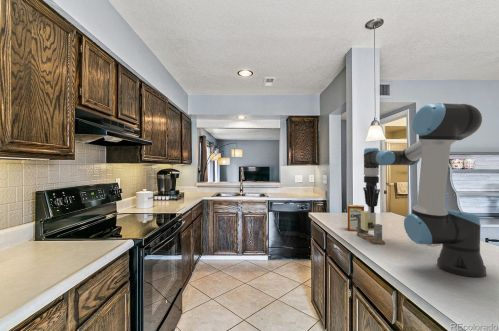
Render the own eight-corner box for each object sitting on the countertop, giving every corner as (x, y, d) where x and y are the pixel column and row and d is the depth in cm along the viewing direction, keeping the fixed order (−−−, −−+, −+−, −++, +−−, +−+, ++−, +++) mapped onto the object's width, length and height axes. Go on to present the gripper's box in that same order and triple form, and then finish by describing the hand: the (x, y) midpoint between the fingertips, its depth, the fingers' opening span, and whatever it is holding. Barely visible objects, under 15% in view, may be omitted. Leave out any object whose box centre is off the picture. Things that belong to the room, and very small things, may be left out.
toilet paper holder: (384, 244, 136) (384, 222, 136) (373, 244, 135) (373, 222, 135) (366, 234, 154) (366, 215, 154) (356, 235, 153) (356, 215, 153)
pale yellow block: (375, 230, 144) (375, 212, 144) (365, 230, 144) (365, 212, 144) (370, 228, 149) (370, 211, 149) (360, 228, 149) (360, 211, 149)
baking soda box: (347, 230, 163) (347, 205, 163) (347, 228, 170) (347, 204, 169) (364, 232, 160) (364, 206, 160) (363, 229, 166) (363, 204, 166)
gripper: (384, 176, 137) (384, 220, 137) (371, 175, 150) (371, 215, 150) (371, 176, 136) (371, 220, 137) (358, 175, 149) (358, 216, 150)
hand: (371, 218), depth 143 cm, fingers closed
